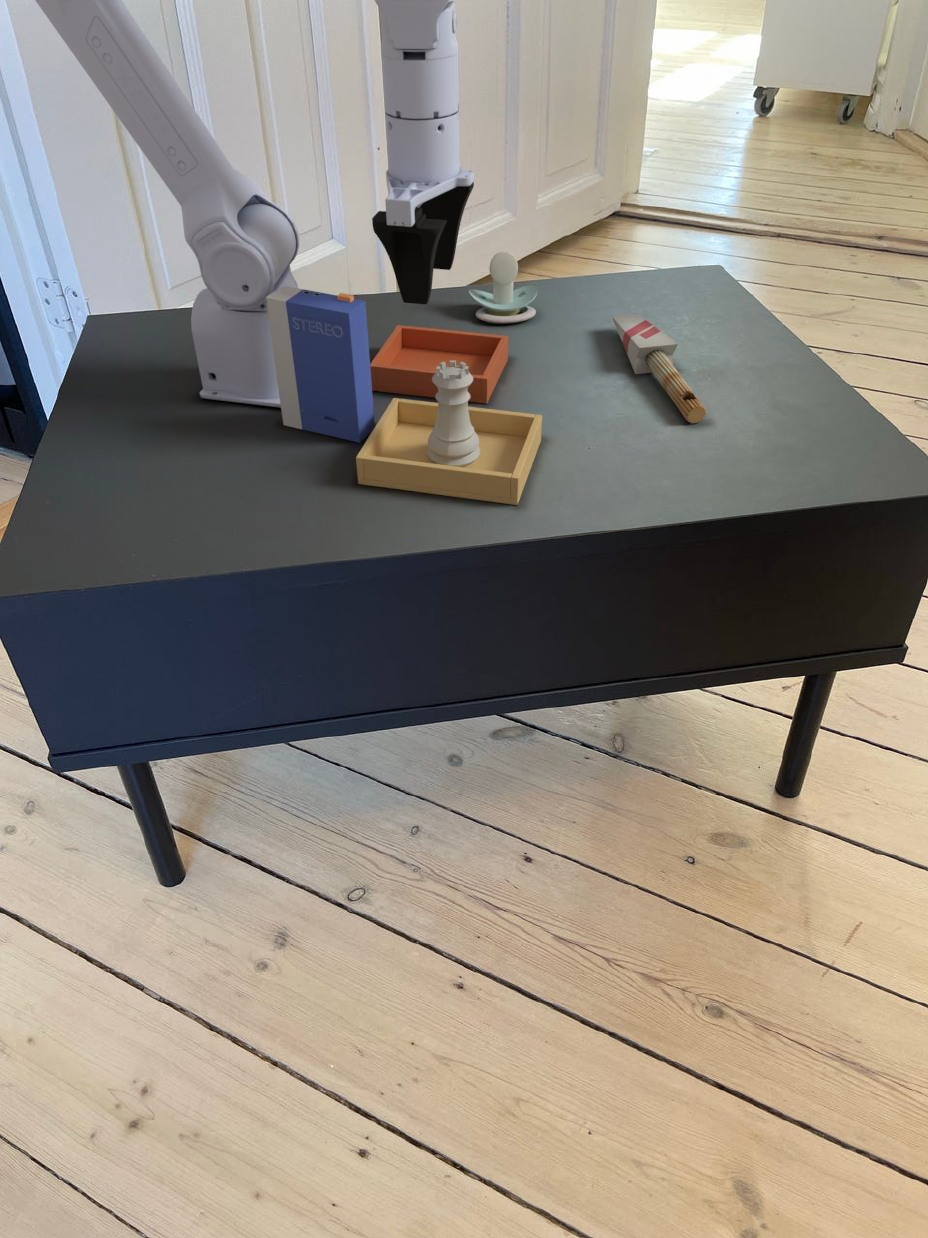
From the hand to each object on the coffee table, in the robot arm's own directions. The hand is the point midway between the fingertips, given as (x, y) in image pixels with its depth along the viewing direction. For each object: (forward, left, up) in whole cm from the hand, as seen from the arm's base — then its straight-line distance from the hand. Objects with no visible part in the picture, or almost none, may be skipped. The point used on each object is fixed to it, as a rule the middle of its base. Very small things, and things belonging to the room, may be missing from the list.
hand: (428, 284), depth 84 cm
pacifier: (+3, +19, -11) cm, 22 cm away
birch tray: (+5, -11, -10) cm, 16 cm away
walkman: (-7, -8, -11) cm, 15 cm away
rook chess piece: (+5, -11, -10) cm, 16 cm away
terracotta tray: (0, +4, -10) cm, 11 cm away
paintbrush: (+20, +9, -11) cm, 24 cm away
